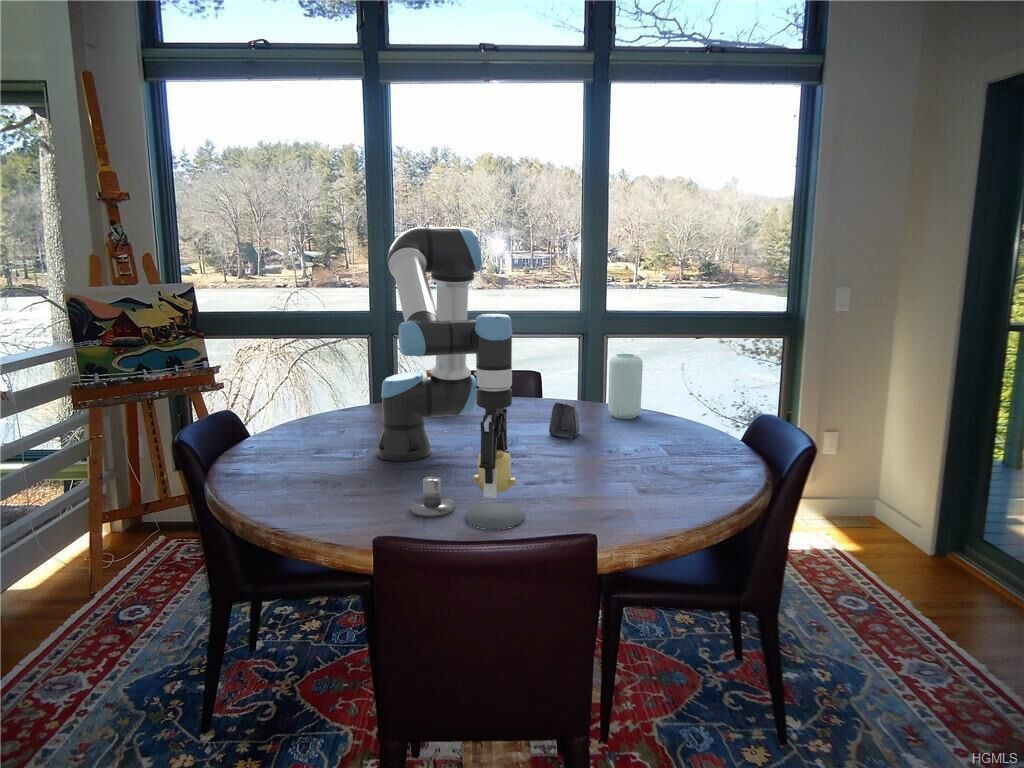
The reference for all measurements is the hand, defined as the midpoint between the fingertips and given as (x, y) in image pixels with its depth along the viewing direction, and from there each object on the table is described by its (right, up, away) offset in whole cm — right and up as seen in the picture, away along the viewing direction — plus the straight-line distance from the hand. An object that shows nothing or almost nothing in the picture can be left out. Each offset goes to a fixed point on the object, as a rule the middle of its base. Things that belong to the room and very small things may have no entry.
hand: (494, 490), depth 143 cm
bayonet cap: (0, +1, 0) cm, 1 cm away
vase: (+44, +11, +91) cm, 101 cm away
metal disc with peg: (-14, -5, +6) cm, 16 cm away
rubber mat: (0, -6, +1) cm, 6 cm away
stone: (+21, +7, +68) cm, 71 cm away
